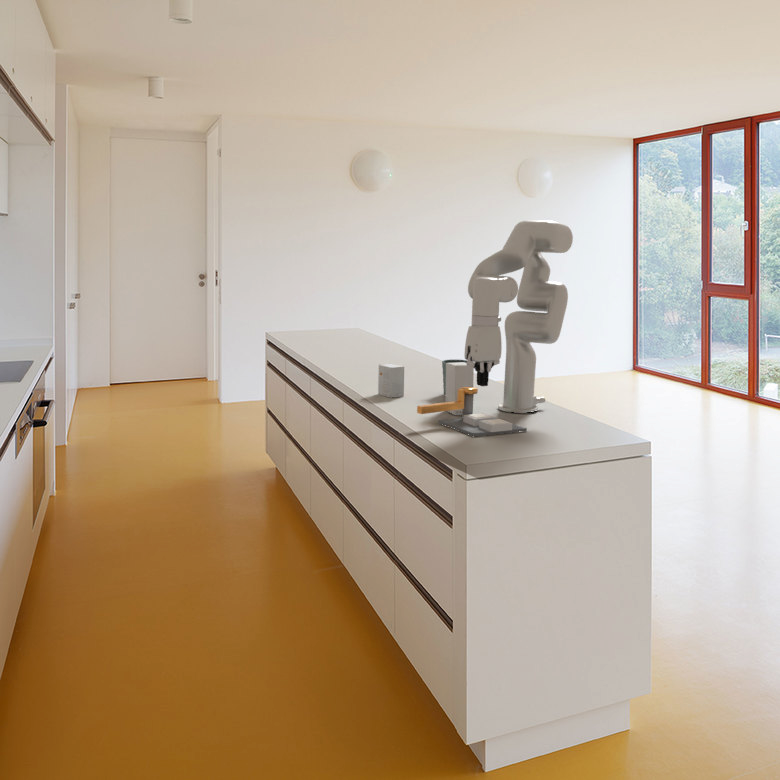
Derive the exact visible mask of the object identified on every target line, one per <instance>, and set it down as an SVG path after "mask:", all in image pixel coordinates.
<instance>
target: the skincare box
mask: <svg viewBox="0 0 780 780" xmlns="http://www.w3.org/2000/svg"><path fill="white" fill-rule="evenodd" d="M474 370H475V369H474V367H472V366H468V365H467V363H465V362H456V363H446V396H445V402H453V401H457V396H458V389H460V388H461V387H474ZM449 412H450V414H451V413H452V414H451V415H453V414H454V416H462V412H463V409H457V410H450V411H448V412H447V413H449Z"/></svg>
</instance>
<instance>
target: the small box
mask: <svg viewBox="0 0 780 780" xmlns="http://www.w3.org/2000/svg"><path fill="white" fill-rule="evenodd" d="M377 383H378V387H377V391H378V392H377V394H378V395H379V394H380V395H381V396H383V395H384V396H383V397H386V396H387V398H391V399H392V397H394V398H400V397H401V398H402V396H403V397H405V366H404V365H403V366H402V365H399V364H398V365H397V364H394V363H386V364H378V382H377Z"/></svg>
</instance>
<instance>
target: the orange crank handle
mask: <svg viewBox="0 0 780 780" xmlns="http://www.w3.org/2000/svg"><path fill="white" fill-rule="evenodd" d="M464 394H474V395H477V394H478V387H474V386H473V387H461V388H460V389H458V396H457V401H453V402H446V401H445V402H438V403H437V402H436V403H432V404H429V403H428V404H422V405H417V408H416V414H420V415H426V414H433V413H441V412H447V411H450V410H457V409H464Z"/></svg>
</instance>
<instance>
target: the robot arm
mask: <svg viewBox="0 0 780 780" xmlns="http://www.w3.org/2000/svg"><path fill="white" fill-rule="evenodd" d="M573 239H574V237H573V232H572V229H571V227H569V226H568V225H565V224H563V223H560V222H557V221H553V220H522V221H519V222H518V223H517V224H515V225H514V228H513V229H512V231H511V232H510V234H509V237H507V240H506V242H505V244H504V245H503V247H502V248H501V250H499V251H497V252H495V253H493V254H492V255H490V256H488V257H486V258H484V259H483V260H482V261H480V262H479V263H478V264H477V266H476V267H475V269H474V271H473V272H472V274H471V276H470V279H469V281H468V285H467V292H468V296H469V297H470V298H471V299H472V302H471V303H472V306H471V308H472V310H471V325H470V326H468V329H467V332H466V337H465V345H464V359H465V360H467V365H468V366H472V367H474V370H475V372H476V384H477V385H478V386H480V387H488V386H489V375H490V374H489V373H490V372H491V371H492V368H494V366H497V365H498V364H500V359H501V358H502V348H503V347H502V332H501V326H499V322H502V317H501V316H499V315H500V303H505V304H506V303H510V302H513V301H514V300H515V298H516V304H517V306H518V307H519V308H520V309H522V310H523V311H522V310H516V311H513V312H510V313H509V314H508V315H507V316H506V317H505V319H504V335H505V344H506V345H505V349H506V350H505V365H504V367H505V368H504V382H503V383H504V387H503V401H502V403H499V404H498V406H497V409H498V410H500V411H503V412H505V413H506V412H507V413H511V412H514V413H515V414H526V413H525V412H531V411H535V410H537V409H538V408H539V406H537V405H538V404H544V403H545V402H546V398H545V396H539V397H537V395H535V381H536V363H537V355H536V351H535V349H534V348H533V346H532V345H531V344H532V343H535V344H546V345H547V344H549V345H551V344H555V343H556V342H557V341H558V340H559V338H560V336H561V335H560V334H561V331H562V327H563V323H564V320H565V319H564V318H565V314H566V310H567V306H568V302H569V301H568V299H569V294H568V289H567V287H566V284H564V283H562V282H557V281H549V280H550V275H551V268H550V265H549V263H548V262H547V260H546V258H545V257H544V256H543V255H542V253H548V254H549V253H550V254H551V253H553V254H562V253H563V254H564V253H567V252H569V250H570V249H571V248H572V245H573V241H574V240H573ZM521 269H523V271H522V275H521V279H520V283H519V285H518V281H516V280H515V278H513V277H511V276H507V274H511V273H514V272H516V271H519V270H521ZM538 410H539V409H538ZM514 413H513V414H514Z"/></svg>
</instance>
